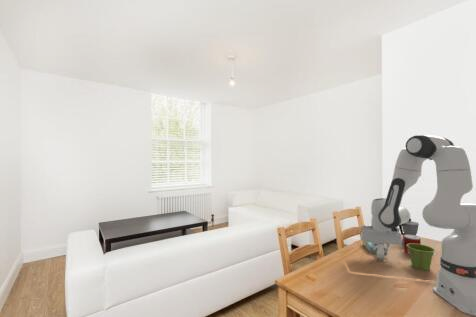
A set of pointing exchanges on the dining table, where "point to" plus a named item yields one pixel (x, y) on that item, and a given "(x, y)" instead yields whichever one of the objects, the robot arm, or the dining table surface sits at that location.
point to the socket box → (372, 247)
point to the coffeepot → (408, 229)
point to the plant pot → (420, 255)
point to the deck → (381, 260)
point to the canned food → (410, 241)
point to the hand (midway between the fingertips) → (380, 250)
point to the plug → (380, 251)
